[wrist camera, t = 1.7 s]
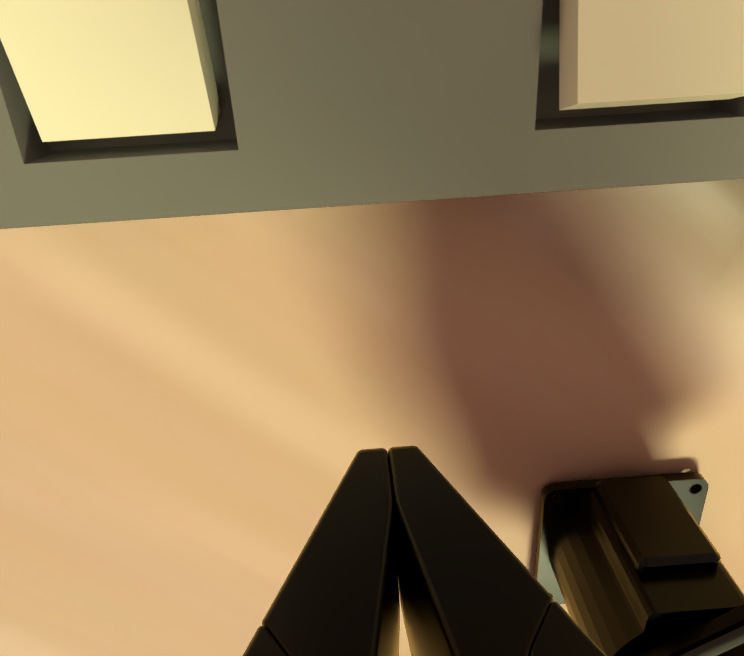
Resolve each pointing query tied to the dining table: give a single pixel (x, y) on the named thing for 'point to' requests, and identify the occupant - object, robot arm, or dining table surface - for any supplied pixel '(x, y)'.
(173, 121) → the rocker
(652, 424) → the dining table surface
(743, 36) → the rocker
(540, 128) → the grey rocker switch panel
